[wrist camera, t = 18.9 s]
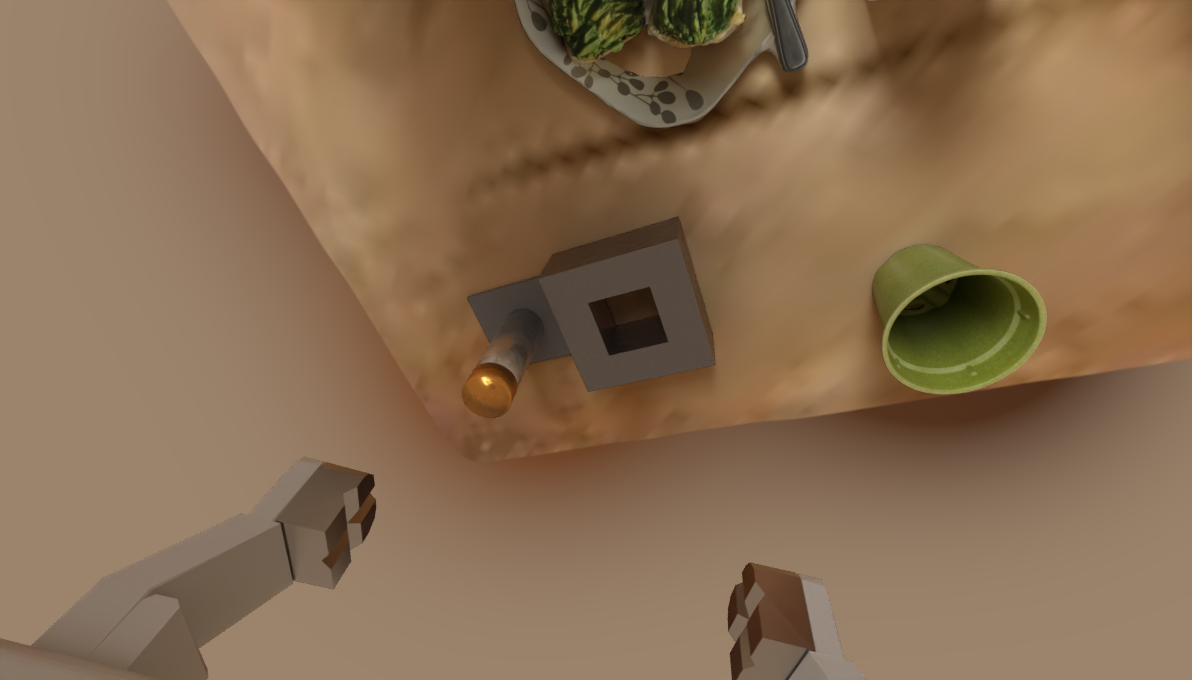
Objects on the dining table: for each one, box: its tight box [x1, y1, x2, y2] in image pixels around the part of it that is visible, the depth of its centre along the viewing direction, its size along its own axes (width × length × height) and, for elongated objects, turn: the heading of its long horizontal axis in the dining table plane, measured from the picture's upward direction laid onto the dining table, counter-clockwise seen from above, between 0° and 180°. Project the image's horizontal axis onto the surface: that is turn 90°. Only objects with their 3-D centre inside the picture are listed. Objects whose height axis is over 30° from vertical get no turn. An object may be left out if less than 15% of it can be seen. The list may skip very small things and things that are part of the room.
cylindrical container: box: [462, 308, 544, 418], centre depth 44 cm, size 4×4×11 cm
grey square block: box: [538, 217, 716, 392], centre depth 44 cm, size 11×11×5 cm
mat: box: [467, 276, 571, 364], centre depth 49 cm, size 8×8×1 cm
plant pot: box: [872, 245, 1047, 394], centre depth 38 cm, size 9×9×9 cm
